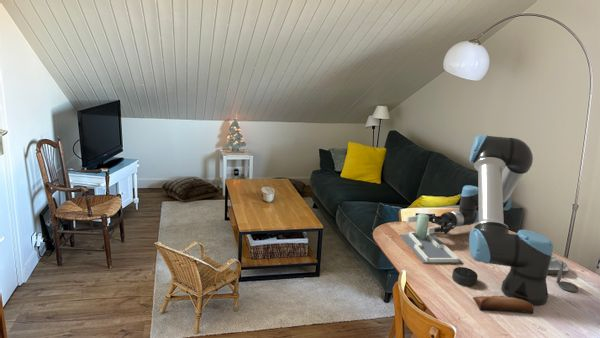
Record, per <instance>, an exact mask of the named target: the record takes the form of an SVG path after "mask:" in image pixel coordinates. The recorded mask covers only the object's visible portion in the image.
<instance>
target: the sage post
mask: <svg viewBox="0 0 600 338" xmlns="http://www.w3.org/2000/svg"><path fill="white" fill-rule="evenodd" d="M426 214H427V213H423V214H418V219H417V222H416V227H415V232H416V233H415V237H416V238H417V239H418V240H426V235H427V232H428V228H429V223H430V222H429V216H428V215H426Z"/></svg>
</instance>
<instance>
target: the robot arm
mask: <svg viewBox="0 0 600 338" xmlns="http://www.w3.org/2000/svg"><path fill="white" fill-rule="evenodd" d="M533 160H534V158H533V152H532V149H531V148H530V146H529V145H528V144H527V143H526V142H525V141H523V140H521V139H519V138H516V137H503V136H492V135H488V134H487V135H484V134H483V135H482V134H481V135H479V134H478V135H477V136H475V138H474V140H473V143H472V146H471V150H470V154H469V163H471V164H473V167H474V169H475V170H476V171H477V175H478V176H477V177H478V178H477V179H478V183H477V184H478V186H476V185H475V186H474V185H469V184H468V185H467V184H466V185H464V186H463V187H462V189H461V190H462V191H461V194H460V196H461V197H460V200H459V201H460V202H459V207H458V210H453V211H448V212H443V213H441V215H436V214H435V213H425V214H426V215H428V216H429V222H428V223H431V224H435V225H436V226H430V227H429V226H428V229H427V233H428V234H429V235H432V234H436V233H443V234H445V235H447V234H448V233H450V231H451V230H455V228H457V227H462V226H463V227H465V226H469V225H470V226H471V225H474V228H472V229H471V230H470V232H469V237H468V238H469V240H468V246H469V252H470V255H471V257H472V259H473V260H474V261H475V262H480V263H484V264H485V265H486V264H491V265H496V266H505V267H510V270H509V272H508V273H507V275H506V276H505V278H504V280H502V282H501V287H500V289H501V291H502V293H503V294H504V295H505V296H506V297H513V298H518V299H522V300H525V301H527V302H530V303H531V304H532V305H533V306H543V305H545V304H546V303H547V302H548V297H549V293H548V286H547V276H548V274H547V273H548V269H549V264H550V260H551V256H553V249H554V243H553V242H552V240H551V239H550V238H548V237H547V236H545V235H544V234H541V233H538V232H536V231H533V230H530V229H519V230H518V231H517V234H515V233H509V226H508V225H507V224H505V223H504V211H509V210H510V209H511V205H512V196H511V195H512V193H513V192H514V191H515V188H516V187H517V185H518V184H519V182H520V181H521V178H522V177H523V176H524V174H527V173H528V171H530V169H531V168H532V165H533V162H534V161H533ZM476 208H478V210H477V209H476ZM418 214H424V213H420V212H419V213H418V212H416V213H415V215H413V216H412V215H411V216H407V220H406V223H408V224H409V223H417V219H418Z"/></svg>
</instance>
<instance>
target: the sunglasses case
mask: <svg viewBox="0 0 600 338" xmlns="http://www.w3.org/2000/svg"><path fill="white" fill-rule="evenodd" d="M472 300H473V302H474V303H475V305H476V307H478V309H479V310H482V311H506V312H508V311H509V312H517V313H519V312H520V313H530V314H533V313H534V309H535V308H534V305H532V304H531V303H530V302H527V301H525V300H522V299H518V298H513V297H508V296H506V295H505V296H504V295H491V296H489V295H486V296H484V295H483V296H479V295H478V296H474V297H472Z"/></svg>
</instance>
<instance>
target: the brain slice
mask: <svg viewBox="0 0 600 338" xmlns="http://www.w3.org/2000/svg"><path fill="white" fill-rule="evenodd" d="M562 261H563V260H561V259H558V258H557V257H556V256H553V255H552V256H551V260H550V264H549V269H548V273H547V275H555V276H558V272H559V269H560V266H562V265H561V264H562ZM569 269H570V268H569V265H568V264H567V263H566V262H564V261H563V272H562V276H563V275H565V274H566V273H568V272H569Z"/></svg>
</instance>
